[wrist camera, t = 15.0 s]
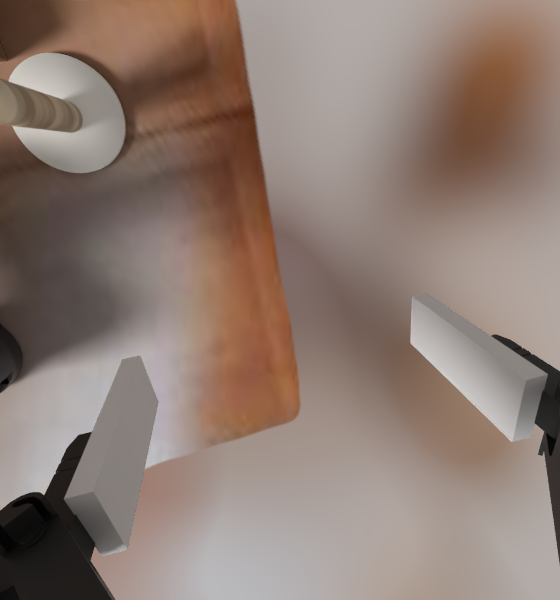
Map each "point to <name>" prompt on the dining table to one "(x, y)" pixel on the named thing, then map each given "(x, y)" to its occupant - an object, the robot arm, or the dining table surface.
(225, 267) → the dining table surface
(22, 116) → the dowel
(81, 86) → the white plate
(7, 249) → the dining table surface
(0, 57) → the pen pot
